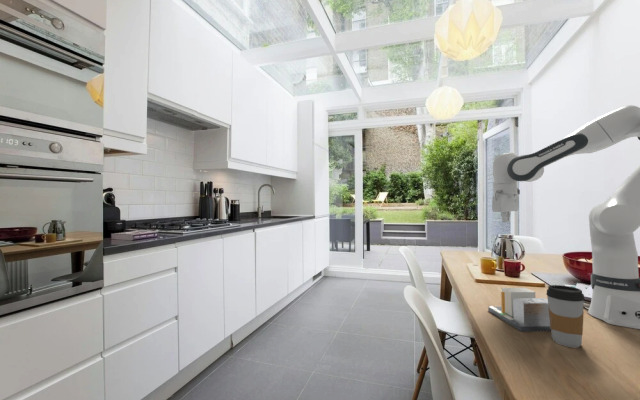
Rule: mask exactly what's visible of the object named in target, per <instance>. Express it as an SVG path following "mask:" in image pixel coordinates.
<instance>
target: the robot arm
mask: <svg viewBox="0 0 640 400" xmlns="http://www.w3.org/2000/svg"><path fill="white" fill-rule="evenodd" d="M635 137H636V138H637V139H638V140H639V141H640V107H639V106H638V105H632V104H630V105H625V106H622V107H619V108H617V109H615V110H612V111H610V112H607V113H605V114H603V115H601V116H598V117H597V118H595V119H593V120H591V121H590V122H587V123H585V124H584V125H582V126H581V127H579V128H577V129H576V130H575V131H573V132H572V133H569V134H568V135H566V136H565V137H564V138H561V139H560V140H558V141H556V142H554V143H552V144H549V145H548V146H546V147H544V148H541V149H540V150H537V151H535V152H533V153H530V154H523V155H518V154H515V153H514V152H505V153H502V154H498V155H497V156H495V157H494V159H493V163H492V175H493V183H492V187H493V188H492V191H493V193H492V194H493V195H492V200H491V201H492V202H491V208H492V209H491V210H492V212H493V213H500V216H501V217H502V218H501V219H502V222H503V223H510V219H511V218H510V217H511V212H517V211H518V210H519V203H520V199H519V198H520V197H519V195H521V191H520V189H519V187H518V182H534V181H537V180H539V179H540V178H542V176H543V174H544V172H545V167H547V166H549V165H551V164H553V163H555V162H557V161H559V160H562V159H564V158H567V157H569V156H573V155H581V154H593V153H597V152H599V151H602V150H605V149H607V148H609V147H611V146H613V145H616V144H618V143H620V142H622V141H625V140H627V139H629V138H635ZM588 221H589V225H588V226H589V234H590V235H589V236H590V244H591V245H590V246H591V256H592V257H591V259H592V260H591V261H592V273H590V286H591V289H592V293H591V300H590V304H589V308H588V311H587V313H588V314H589V315H590V316H592V317H594V318H596V319H599V320H602V321H604V322H605V323H607V324H609V325H614V326H619V327H625V328H631V329H636V330H637V329H638V330H640V277H639V255H638V250H637V247H636V242H635V240H636V239H635V235H634V232H636V231H637V230H638V228H640V165H639V166H638V167H637V168H636V169H635V170H634V171H633V172H632V173H631V174H629V176H628V177H627V178H625V179H624V180H623V182H621V184H620V185H619V186H618V187H617V188H616V189H615V190H614V192H613V193H612V194H610V196H609V197H608V198H607V199H606V200H604V202H602V203H598V204H596V205H595V206H594V207H592V209H591V210H590V211H589V214H588Z"/></svg>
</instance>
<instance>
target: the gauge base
mask: <svg viewBox="0 0 640 400" xmlns="http://www.w3.org/2000/svg"><path fill="white" fill-rule="evenodd" d="M487 309H488V312H489V313H491V314H493V315H494V316H496V317H498V318H499V319H500V320H502V321H504V322H505V323H507V324H508V325H510V326H511V327H513V328H514V329H516V330H518V331H519V332H521V333H522V332H523V333H524V332H551V328H550V319H549V310H548V298H544V297H535V298H513V312H514V317H512V316H510V315H508V314H506V313H502V306H494V305H489V306H488V308H487Z"/></svg>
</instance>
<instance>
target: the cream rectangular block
mask: <svg viewBox="0 0 640 400" xmlns="http://www.w3.org/2000/svg"><path fill="white" fill-rule="evenodd" d="M500 297H501V301H500V303H501V307H502V313H506V314H508V315H510V316H512V317H514V312H513V298H536V291H534V290H532V289H529V288H527V287H503V288H501V291H500Z"/></svg>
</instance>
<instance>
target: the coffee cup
mask: <svg viewBox="0 0 640 400" xmlns="http://www.w3.org/2000/svg"><path fill="white" fill-rule="evenodd" d="M545 295H546V296H547V298H546V299H548V310H549V319H550V328H551V331H550V332H551V338H552V339H553V342H554V343H556V344H558V345H561V346H565V347H568V348H579V347H581V345H582V343H583V340H582V339H583V334H584V333H583V331H584V314H585V312H584V306H585V304H584V302H585V299H586V298H585V294H584V293H583V291H582V289H580V288H577V287H574V286H569V285H560V284H559V285H558V284H552V285H551V284H550V285H548V286H547V288H546V294H545Z"/></svg>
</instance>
